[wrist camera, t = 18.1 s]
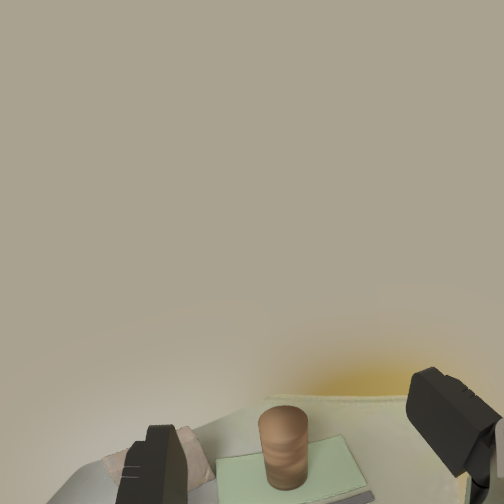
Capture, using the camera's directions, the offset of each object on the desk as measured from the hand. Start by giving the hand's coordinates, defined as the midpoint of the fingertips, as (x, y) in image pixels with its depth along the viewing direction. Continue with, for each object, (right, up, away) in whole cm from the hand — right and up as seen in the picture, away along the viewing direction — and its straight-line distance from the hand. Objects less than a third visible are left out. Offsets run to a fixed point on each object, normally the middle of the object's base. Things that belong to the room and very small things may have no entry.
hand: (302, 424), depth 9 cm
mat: (+3, -23, +23) cm, 33 cm away
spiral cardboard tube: (+3, -23, +23) cm, 32 cm away
